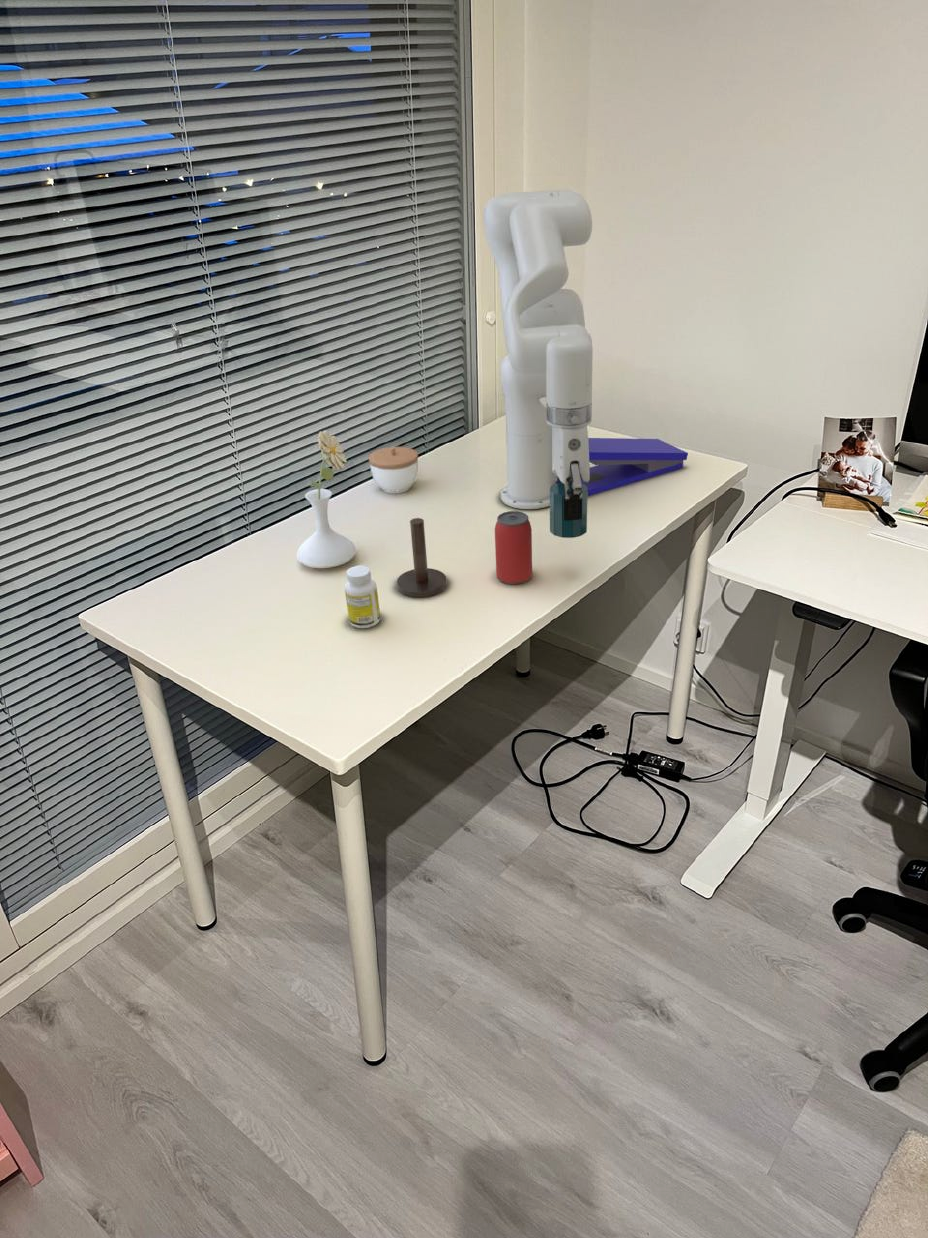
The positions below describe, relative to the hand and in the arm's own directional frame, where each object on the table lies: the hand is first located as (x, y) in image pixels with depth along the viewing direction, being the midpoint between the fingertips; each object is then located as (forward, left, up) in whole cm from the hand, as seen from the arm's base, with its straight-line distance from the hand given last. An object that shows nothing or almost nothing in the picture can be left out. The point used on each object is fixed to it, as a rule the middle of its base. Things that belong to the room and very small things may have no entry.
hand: (568, 509), depth 169 cm
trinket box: (-11, -53, -13) cm, 56 cm away
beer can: (+7, -7, -13) cm, 16 cm away
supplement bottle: (+34, -19, -13) cm, 41 cm away
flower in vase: (+21, -41, -13) cm, 48 cm away
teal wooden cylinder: (0, 0, -4) cm, 4 cm away
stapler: (-44, -15, -13) cm, 49 cm away
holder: (+19, -19, -13) cm, 30 cm away
